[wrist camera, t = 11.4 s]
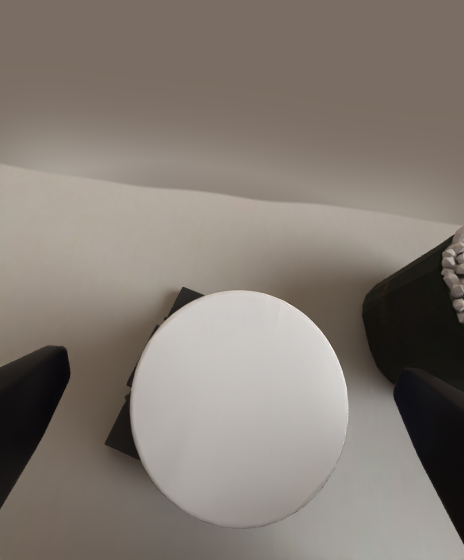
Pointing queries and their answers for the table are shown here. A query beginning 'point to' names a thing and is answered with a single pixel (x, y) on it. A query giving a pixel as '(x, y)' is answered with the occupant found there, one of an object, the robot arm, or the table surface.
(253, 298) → the pill bottle
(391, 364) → the sushi
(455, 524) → the robot arm
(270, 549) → the table surface
